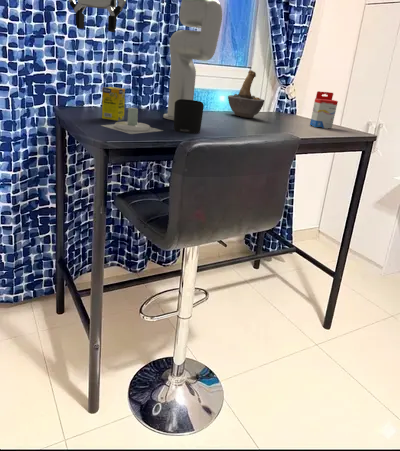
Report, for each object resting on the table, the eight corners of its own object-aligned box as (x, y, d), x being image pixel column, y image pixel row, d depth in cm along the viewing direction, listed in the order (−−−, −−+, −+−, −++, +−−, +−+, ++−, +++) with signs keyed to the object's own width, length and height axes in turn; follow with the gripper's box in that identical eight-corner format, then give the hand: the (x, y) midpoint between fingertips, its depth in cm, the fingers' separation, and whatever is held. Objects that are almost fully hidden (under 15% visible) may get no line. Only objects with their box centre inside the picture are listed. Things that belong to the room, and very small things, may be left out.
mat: (133, 124, 141) (133, 122, 141) (163, 132, 133) (163, 130, 133) (100, 127, 130) (100, 125, 130) (130, 135, 123) (130, 133, 123)
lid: (133, 123, 139) (134, 105, 136) (156, 130, 133) (158, 110, 130) (107, 125, 131) (107, 106, 128) (131, 132, 124) (132, 112, 122)
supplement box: (118, 123, 141) (119, 89, 136) (101, 120, 142) (101, 87, 137) (124, 120, 146) (125, 88, 142) (108, 118, 147) (109, 86, 143)
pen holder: (166, 130, 137) (168, 99, 134) (187, 129, 144) (190, 99, 140) (185, 136, 131) (188, 103, 128) (206, 134, 138) (210, 103, 134)
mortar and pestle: (261, 121, 180) (268, 72, 173) (223, 116, 182) (228, 68, 175) (261, 117, 194) (268, 71, 186) (226, 112, 196) (232, 67, 188)
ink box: (315, 127, 179) (322, 92, 173) (309, 125, 183) (316, 91, 178) (332, 128, 181) (339, 93, 176) (326, 126, 186) (333, 92, 180)
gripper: (131, -34, 114) (129, 34, 121) (74, -39, 118) (75, 28, 124) (120, -41, 108) (118, 32, 114) (60, -45, 111) (61, 25, 117)
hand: (95, 30), depth 119 cm, fingers open, 9 cm apart
